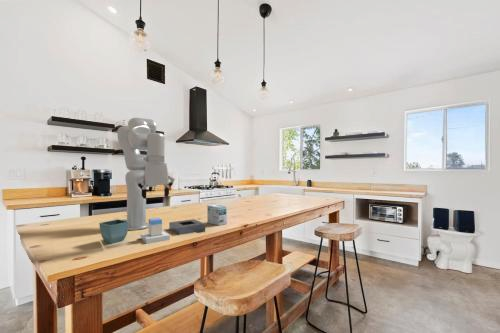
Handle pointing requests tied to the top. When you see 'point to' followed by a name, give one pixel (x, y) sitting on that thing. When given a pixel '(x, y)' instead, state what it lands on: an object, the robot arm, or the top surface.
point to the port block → (187, 226)
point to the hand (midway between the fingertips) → (155, 197)
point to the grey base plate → (155, 237)
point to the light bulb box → (217, 214)
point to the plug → (155, 227)
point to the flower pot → (114, 230)
